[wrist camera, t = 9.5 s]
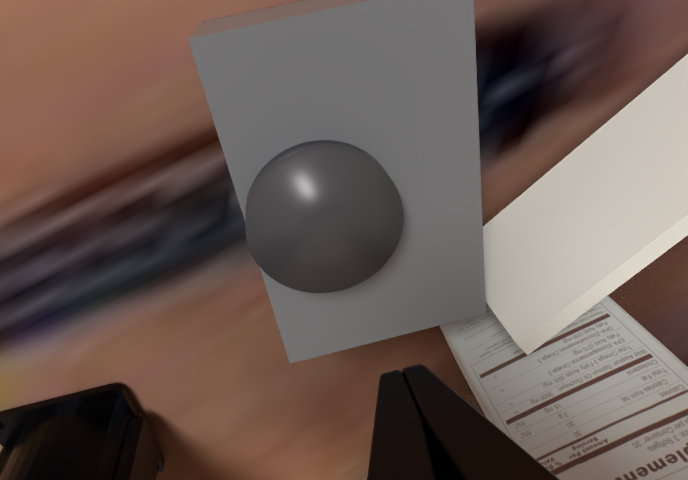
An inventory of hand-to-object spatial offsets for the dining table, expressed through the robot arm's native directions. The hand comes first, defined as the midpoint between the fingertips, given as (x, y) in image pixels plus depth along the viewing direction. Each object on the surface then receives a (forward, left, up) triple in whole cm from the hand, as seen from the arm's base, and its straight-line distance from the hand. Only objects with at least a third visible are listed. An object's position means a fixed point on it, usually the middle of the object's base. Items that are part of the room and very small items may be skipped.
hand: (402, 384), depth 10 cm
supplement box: (+9, -12, -13) cm, 20 cm away
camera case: (+1, 0, -13) cm, 13 cm away
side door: (+12, -2, -13) cm, 18 cm away
